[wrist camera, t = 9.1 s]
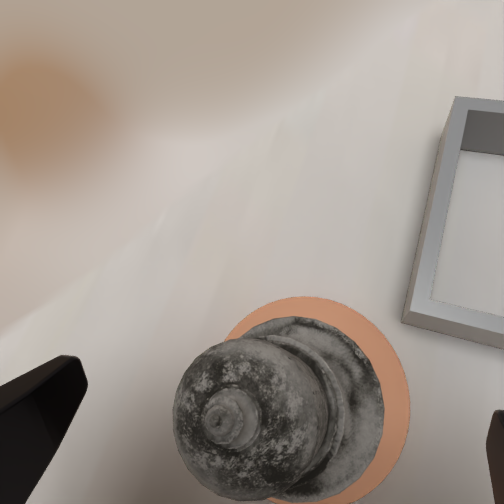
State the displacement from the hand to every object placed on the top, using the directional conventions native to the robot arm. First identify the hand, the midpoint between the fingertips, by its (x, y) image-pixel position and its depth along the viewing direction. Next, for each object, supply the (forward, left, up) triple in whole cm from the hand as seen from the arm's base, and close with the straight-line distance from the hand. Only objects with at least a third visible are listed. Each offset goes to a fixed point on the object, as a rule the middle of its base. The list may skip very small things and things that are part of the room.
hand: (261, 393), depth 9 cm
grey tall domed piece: (0, 0, -9) cm, 9 cm away
